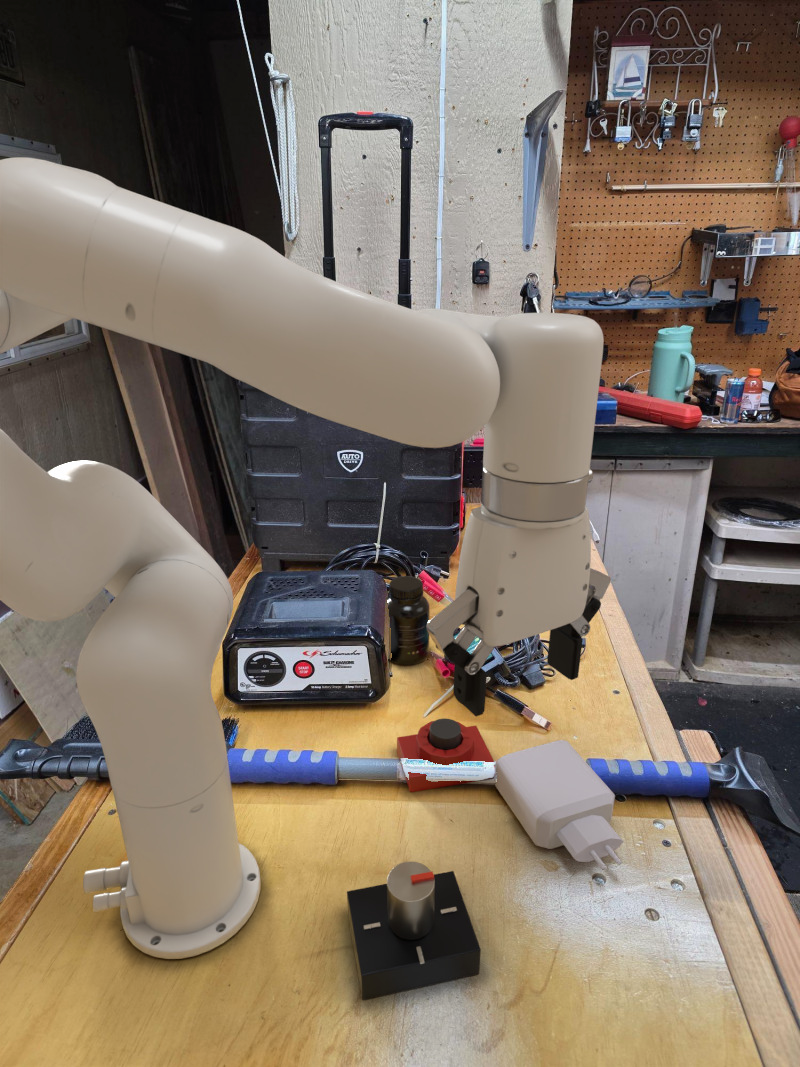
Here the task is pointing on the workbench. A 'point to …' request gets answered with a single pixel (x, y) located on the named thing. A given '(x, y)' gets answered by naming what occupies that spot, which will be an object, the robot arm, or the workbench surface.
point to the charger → (560, 801)
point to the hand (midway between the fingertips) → (517, 688)
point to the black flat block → (411, 942)
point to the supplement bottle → (408, 620)
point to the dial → (410, 900)
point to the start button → (445, 734)
